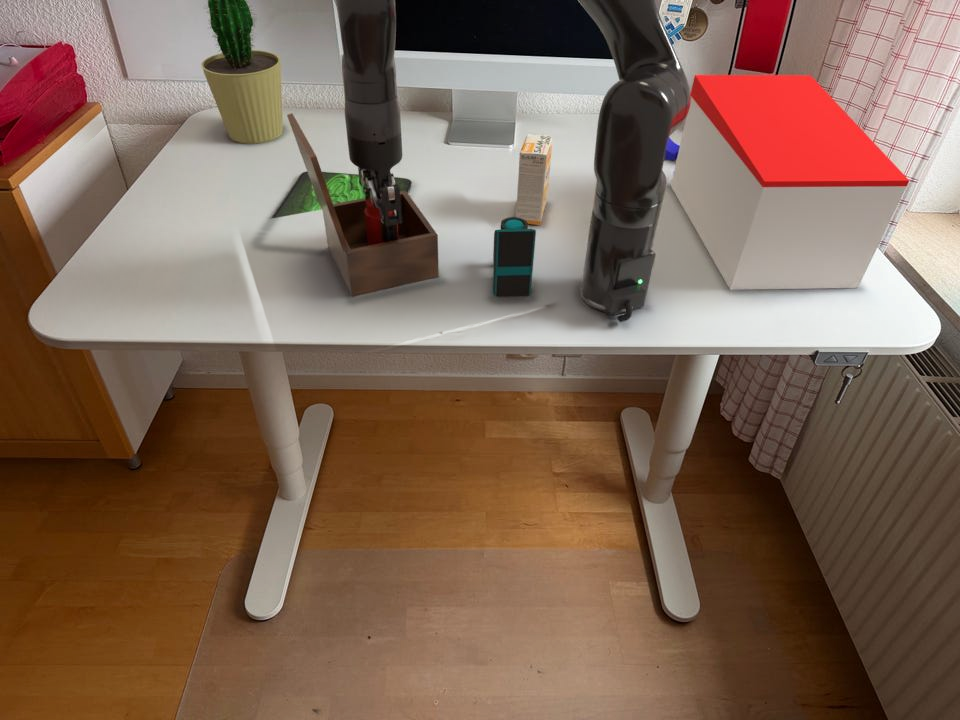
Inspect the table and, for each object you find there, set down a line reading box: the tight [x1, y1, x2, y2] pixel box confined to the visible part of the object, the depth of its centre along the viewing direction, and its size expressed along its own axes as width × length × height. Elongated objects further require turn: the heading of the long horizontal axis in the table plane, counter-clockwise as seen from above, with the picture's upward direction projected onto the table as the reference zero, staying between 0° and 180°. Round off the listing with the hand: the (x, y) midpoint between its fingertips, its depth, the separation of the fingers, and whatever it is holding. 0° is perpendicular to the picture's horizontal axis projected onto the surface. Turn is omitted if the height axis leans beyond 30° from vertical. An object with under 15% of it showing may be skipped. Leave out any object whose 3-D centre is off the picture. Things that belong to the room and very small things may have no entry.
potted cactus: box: [201, 0, 284, 145], centre depth 135 cm, size 15×15×30 cm
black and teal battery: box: [492, 216, 537, 298], centre depth 101 cm, size 6×12×10 cm
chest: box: [322, 191, 440, 298], centre depth 105 cm, size 14×15×8 cm
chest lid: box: [286, 113, 348, 251], centre depth 94 cm, size 15×15×1 cm
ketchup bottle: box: [365, 193, 399, 246], centre depth 103 cm, size 5×5×12 cm
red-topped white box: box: [670, 74, 910, 291], centre depth 111 cm, size 21×35×21 cm, turn 3°
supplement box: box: [515, 133, 554, 226], centre depth 117 cm, size 8×5×13 cm, turn 168°
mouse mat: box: [270, 171, 413, 219], centre depth 120 cm, size 27×22×1 cm
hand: (382, 229), depth 104 cm, fingers open, 8 cm apart
